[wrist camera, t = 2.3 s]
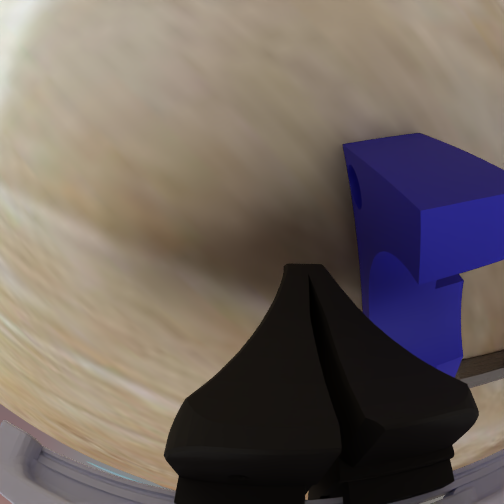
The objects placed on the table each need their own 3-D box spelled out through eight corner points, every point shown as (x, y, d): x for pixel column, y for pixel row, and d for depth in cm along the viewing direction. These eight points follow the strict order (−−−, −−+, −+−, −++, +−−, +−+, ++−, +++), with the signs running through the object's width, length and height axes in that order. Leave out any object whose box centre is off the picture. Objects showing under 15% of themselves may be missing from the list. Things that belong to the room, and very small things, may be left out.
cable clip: (434, 346, 14) (467, 431, 9) (363, 365, 15) (382, 460, 10) (449, 129, 8) (567, 181, 3) (341, 143, 9) (420, 210, 4)
